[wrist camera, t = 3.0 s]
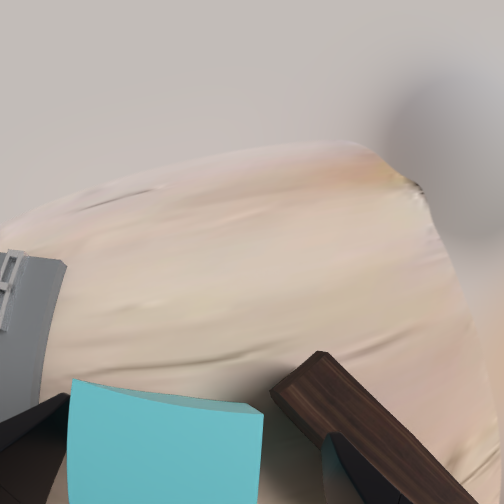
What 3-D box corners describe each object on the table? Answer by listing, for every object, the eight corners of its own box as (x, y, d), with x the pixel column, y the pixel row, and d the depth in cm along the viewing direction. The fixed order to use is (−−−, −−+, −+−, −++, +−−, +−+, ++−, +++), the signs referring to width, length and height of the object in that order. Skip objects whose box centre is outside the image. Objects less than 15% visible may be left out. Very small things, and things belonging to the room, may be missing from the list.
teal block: (241, 472, 12) (248, 580, 2) (171, 463, 12) (73, 538, 2) (246, 403, 14) (263, 414, 4) (177, 395, 14) (72, 378, 4)
